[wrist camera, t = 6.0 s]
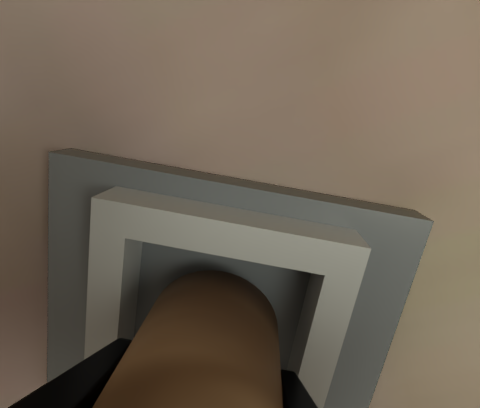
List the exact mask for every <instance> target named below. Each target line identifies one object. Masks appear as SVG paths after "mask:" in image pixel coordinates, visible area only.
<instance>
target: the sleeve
mask: <svg viewBox="0 0 480 408" xmlns="http://www.w3.org/2000/svg"><path fill="white" fill-rule="evenodd" d="M92 408H283V395H282V380H281V365H280V351H279V337H278V324H277V318H276V315H275V312H274V309H273V307H272V305H271V303H270V302H269V300H268V299H267V297H266V296H265V295H264V294H263V293H262V292H261V291H260V290H259V289H258V288H257V287H256V286H255V285H253V284H252V283H250V282H249V281H247V280H245V279H244V278H242V277H240V276H237V275H234V274H231V273H227V272H223V271H216V270H205V271H197V272H193V273H189V274H186V275H184V276H181V277H180V278H178V279H176V280H174V281H173V282H172V283H170V284H169V285H168V286H167V287H166V288H165V289H164V290H163V291H162V292H161V294H160V295H159V296H158V298H157V300H156V302H155V303H154V305H153V307H152V308H151V310H150V312H149V313H148V315H147V317H146V318H145V320H144V322H143V323H142V325H141V327H140V328H139V330H138V332H137V333H136V335H135V337H134V338H133V340H132V342H131V343H130V345H129V347H128V348H127V350H126V352H125V354H124V355H123V357H122V359H121V360H120V362H119V364H118V365H117V367H116V369H115V370H114V372H113V374H112V375H111V377H110V379H109V380H108V382H107V384H106V385H105V387H104V389H103V390H102V392H101V394H100V395H99V397H98V399H97V400H96V402H95V404H94V406H93V407H92Z"/></svg>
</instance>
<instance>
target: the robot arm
mask: <svg viewBox="0 0 480 408" xmlns="http://www.w3.org/2000/svg"><path fill="white" fill-rule="evenodd" d="M131 342H132V340H130V339H125V338H118V339H116V340H115V341H113V342H111V343H110V344H108V345H107V346H105V347H103V348H102V349H100V350H99V351H97V352H95V353H94V354H92V355H91V356H89V357H88V358H86V359H84V360H83V361H81V362H80V363H78V364H76V365H75V366H73V367H72V368H70V369H68V370H67V371H65V372H64V373H62V374H60V375H59V376H57V377H56V378H54V379H53V380H51V381H49V382H48V383H46V384H45V385H43V386H41V387H40V388H38V389H37V390H35V391H33V392H32V393H30V394H29V395H27V396H26V397H24V398H22V399H21V400H19V401H18V402H16V403H14V404H13V405H11V406H10V407H8V408H92V407H93V406H94V404H95V402H96V400H97V399H98V397H99V395H100V394H101V392H102V390H103V389H104V387H105V385H106V384H107V382H108V380H109V379H110V377H111V375H112V374H113V372H114V370H115V369H116V367H117V365H118V364H119V362H120V360H121V359H122V357H123V355H124V354H125V352H126V350H127V348H128V347H129V345H130V343H131ZM281 380H282V395H283V408H318V407H317V406H316V404H315V402H314V401H313V399H312V398H311V396H310V395H309V393H308V391H307V390H306V388H305V387H304V385H303V383H302V382H301V380H300V379H299V377H298V376H297V374H296V373H295V372H294V371H290V370H284V369H281Z"/></svg>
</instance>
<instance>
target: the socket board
mask: <svg viewBox="0 0 480 408" xmlns="http://www.w3.org/2000/svg"><path fill="white" fill-rule="evenodd" d="M433 222H434V221H432V220H431V219H429V218H427V217H426V216H424V215H422V214H421V213H419V212H417V211H415V210H410V209H405V208H399V207H393V206H388V205H382V204H377V203H371V202H366V201H360V200H355V199H349V198H343V197H338V196H332V195H327V194H321V193H316V192H310V191H305V190H299V189H293V188H288V187H282V186H277V185H271V184H266V183H260V182H255V181H249V180H243V179H238V178H232V177H227V176H221V175H216V174H210V173H205V172H199V171H193V170H188V169H182V168H177V167H171V166H166V165H160V164H155V163H149V162H143V161H138V160H132V159H127V158H121V157H116V156H110V155H105V154H99V153H93V152H88V151H82V150H77V149H65V150H58V151H51V152H49V194H48V339H47V383H48V382H49V381H51V380H53V379H54V378H56V377H57V376H59V375H60V374H62V373H64V372H65V371H67V370H68V369H70V368H72V367H73V366H75V365H76V364H78V363H80V362H81V361H83V360H84V359H86V358H88V357H89V356H91V355H92V354H94V353H95V352H97V351H99V350H100V349H102V348H103V347H105V346H107V345H108V344H110V343H111V342H113V341H115V340H116V339H118V338H125V339H130V340H133V338H134V337H135V335H136V333H137V332H138V330H139V328H140V327H141V325H142V323H143V322H144V320H145V318H146V317H147V315H148V313H149V312H150V310H151V308H152V307H153V305H154V303H155V302H156V300H157V298H158V296H159V295H160V294H161V292H162V291H163V290H164V289H165V288H166V287H167V286H168V285H169V284H170V283H172V282H173V281H174V280H176V279H178V278H180V277H181V276H184V275H186V274H189V273H193V272H197V271H205V270H216V271H223V272H227V273H231V274H234V275H237V276H240V277H242V278H244V279H245V280H247V281H249V282H250V283H252V284H253V285H255V286H256V287H257V288H258V289H259V290H260V291H261V292H262V293H263V294H264V295H265V296H266V297H267V299H268V300H269V302H270V303H271V305H272V307H273V309H274V312H275V315H276V318H277V324H278V337H279V351H280V365H281V369H284V370H290V371H294V372H295V373H296V374H297V376H298V377H299V379H300V380H301V382H302V383H303V385H304V387H305V388H306V390H307V391H308V393H309V395H310V396H311V398H312V399H313V401H314V402H315V404H316V406H317V407H318V408H369V405H370V402H371V399H372V396H373V393H374V390H375V388H376V385H377V382H378V379H379V376H380V373H381V371H382V368H383V365H384V362H385V359H386V356H387V353H388V351H389V348H390V345H391V342H392V339H393V336H394V333H395V331H396V328H397V325H398V322H399V319H400V316H401V313H402V311H403V308H404V305H405V302H406V299H407V296H408V294H409V291H410V288H411V285H412V282H413V279H414V276H415V274H416V271H417V268H418V265H419V262H420V259H421V256H422V254H423V251H424V248H425V245H426V242H427V239H428V236H429V234H430V231H431V228H432V225H433Z"/></svg>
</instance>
